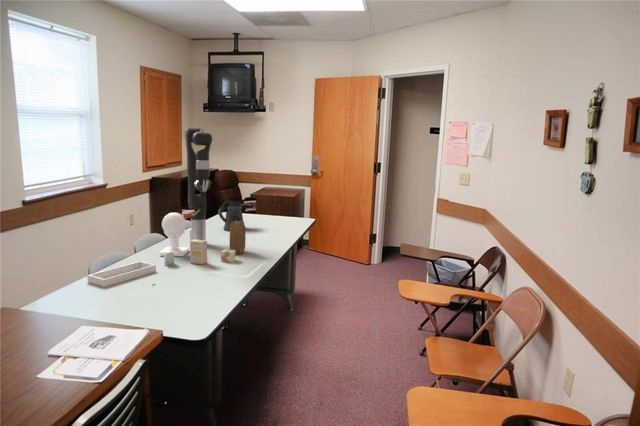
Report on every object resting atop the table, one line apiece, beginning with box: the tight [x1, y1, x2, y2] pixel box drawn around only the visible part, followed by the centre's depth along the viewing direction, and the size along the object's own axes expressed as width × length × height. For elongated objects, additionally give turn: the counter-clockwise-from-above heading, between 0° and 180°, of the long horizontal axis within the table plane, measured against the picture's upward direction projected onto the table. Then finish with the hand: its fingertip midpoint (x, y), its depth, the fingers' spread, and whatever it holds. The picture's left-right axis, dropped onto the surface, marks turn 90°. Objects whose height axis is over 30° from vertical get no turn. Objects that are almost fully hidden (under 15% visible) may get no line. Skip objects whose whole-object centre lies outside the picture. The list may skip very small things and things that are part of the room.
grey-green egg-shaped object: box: [163, 251, 175, 267], centre depth 226 cm, size 5×5×7 cm
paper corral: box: [86, 260, 157, 288], centre depth 204 cm, size 12×29×4 cm, turn 152°
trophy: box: [158, 212, 190, 257], centre depth 248 cm, size 14×14×25 cm
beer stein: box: [217, 198, 246, 233], centre depth 311 cm, size 16×19×25 cm
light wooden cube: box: [220, 248, 236, 264], centre depth 238 cm, size 6×6×6 cm
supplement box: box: [189, 239, 208, 266], centre depth 230 cm, size 8×5×13 cm, turn 71°
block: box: [229, 220, 247, 255], centre depth 255 cm, size 11×8×20 cm
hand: (203, 198), depth 240 cm, fingers closed
